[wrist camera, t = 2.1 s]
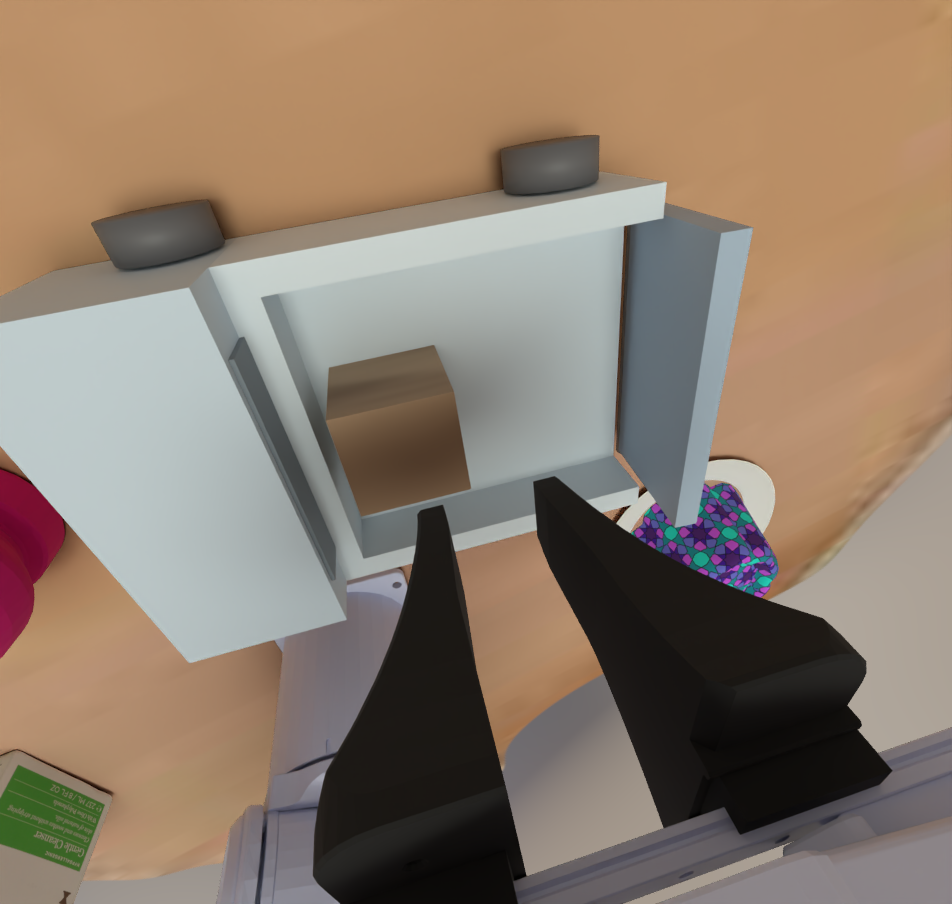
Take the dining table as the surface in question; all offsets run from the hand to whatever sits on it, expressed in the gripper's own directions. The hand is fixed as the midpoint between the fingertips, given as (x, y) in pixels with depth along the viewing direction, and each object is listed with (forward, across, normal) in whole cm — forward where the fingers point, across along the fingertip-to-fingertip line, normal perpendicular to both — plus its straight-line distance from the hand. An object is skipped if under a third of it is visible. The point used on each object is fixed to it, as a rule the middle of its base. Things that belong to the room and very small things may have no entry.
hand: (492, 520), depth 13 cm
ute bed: (+10, +2, 0) cm, 10 cm away
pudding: (+10, -14, +15) cm, 23 cm away
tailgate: (+6, -9, 0) cm, 11 cm away
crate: (+8, +2, 0) cm, 8 cm away
